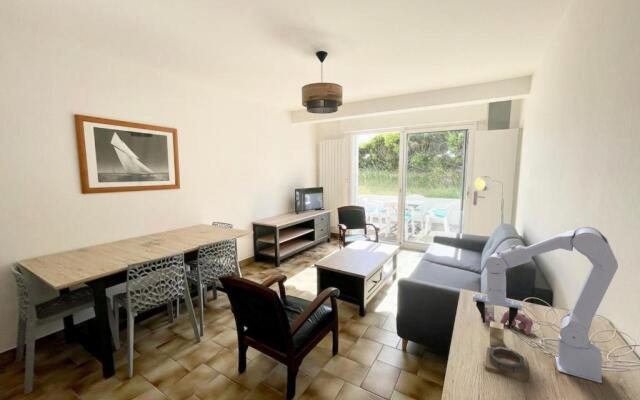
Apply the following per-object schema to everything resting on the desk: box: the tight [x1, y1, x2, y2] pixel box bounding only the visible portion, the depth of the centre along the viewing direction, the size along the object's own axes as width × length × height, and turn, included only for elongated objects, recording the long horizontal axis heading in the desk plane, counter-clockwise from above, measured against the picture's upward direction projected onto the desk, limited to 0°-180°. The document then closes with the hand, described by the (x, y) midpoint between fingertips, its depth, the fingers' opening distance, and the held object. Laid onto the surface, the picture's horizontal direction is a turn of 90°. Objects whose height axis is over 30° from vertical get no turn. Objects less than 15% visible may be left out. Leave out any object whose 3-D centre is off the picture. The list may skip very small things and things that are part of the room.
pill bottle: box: [480, 303, 495, 322], centre depth 113 cm, size 5×5×8 cm
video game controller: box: [499, 310, 534, 336], centre depth 105 cm, size 10×5×7 cm, turn 34°
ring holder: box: [484, 346, 530, 383], centre depth 86 cm, size 11×11×3 cm
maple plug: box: [489, 320, 505, 347], centre depth 97 cm, size 4×4×7 cm
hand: (496, 324), depth 97 cm, fingers open, 7 cm apart
